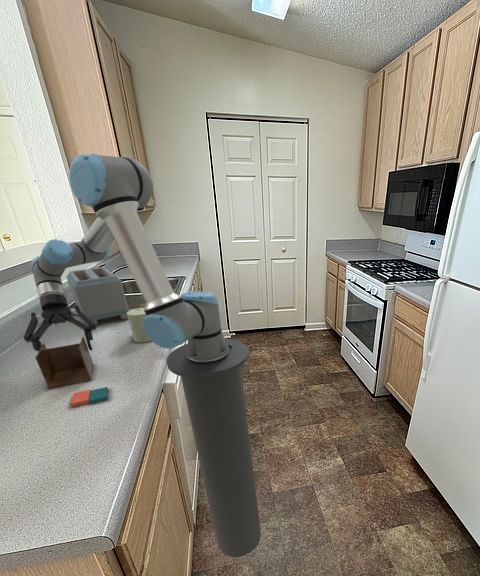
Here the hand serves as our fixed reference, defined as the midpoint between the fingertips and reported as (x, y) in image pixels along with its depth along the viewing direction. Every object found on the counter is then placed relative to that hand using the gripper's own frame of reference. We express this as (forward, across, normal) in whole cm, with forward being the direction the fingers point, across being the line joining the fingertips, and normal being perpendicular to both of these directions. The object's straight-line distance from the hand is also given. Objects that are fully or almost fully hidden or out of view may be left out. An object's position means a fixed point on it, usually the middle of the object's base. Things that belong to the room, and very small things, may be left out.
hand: (67, 353), depth 110 cm
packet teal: (+20, -7, +13) cm, 25 cm away
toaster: (-37, -12, -47) cm, 61 cm away
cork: (-14, -29, -23) cm, 40 cm away
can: (-6, -26, -16) cm, 31 cm away
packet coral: (+20, -2, +12) cm, 23 cm away
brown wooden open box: (+8, 0, -1) cm, 8 cm away
